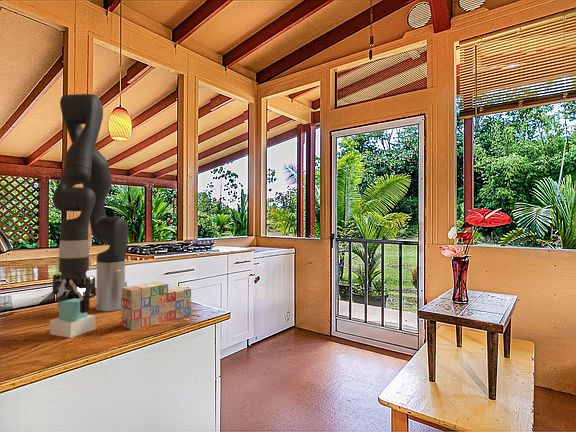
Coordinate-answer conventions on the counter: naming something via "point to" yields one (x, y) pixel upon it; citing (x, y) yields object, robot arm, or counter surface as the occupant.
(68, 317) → the teal cube
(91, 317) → the white square block
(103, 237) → the robot arm
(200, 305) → the counter surface
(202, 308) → the counter surface
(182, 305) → the stack of blocks
